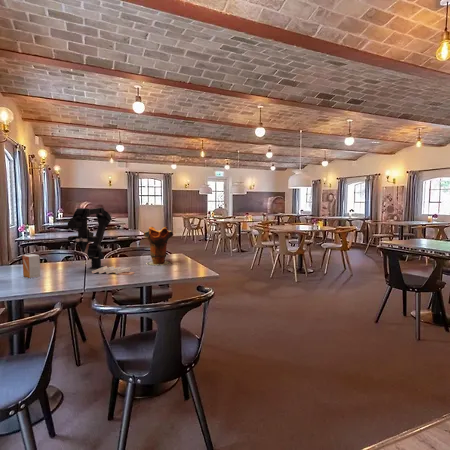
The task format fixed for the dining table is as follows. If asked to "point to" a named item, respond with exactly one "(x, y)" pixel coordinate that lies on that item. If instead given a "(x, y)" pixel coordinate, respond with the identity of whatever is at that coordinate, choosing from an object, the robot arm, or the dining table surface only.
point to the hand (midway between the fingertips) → (83, 252)
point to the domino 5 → (126, 273)
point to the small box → (31, 265)
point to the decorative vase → (158, 245)
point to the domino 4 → (123, 270)
